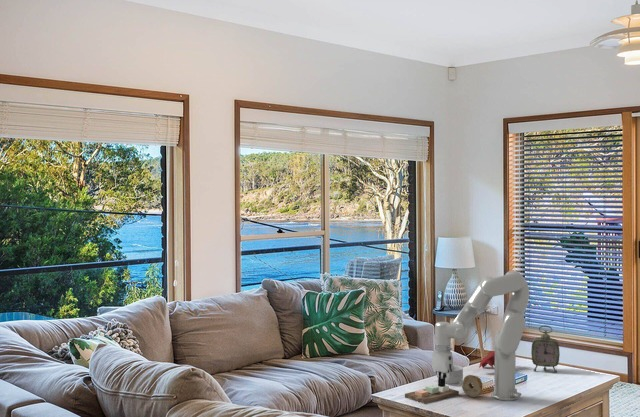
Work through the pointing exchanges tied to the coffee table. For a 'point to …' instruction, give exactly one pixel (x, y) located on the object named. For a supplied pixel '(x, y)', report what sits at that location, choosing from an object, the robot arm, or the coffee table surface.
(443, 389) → the tile cream
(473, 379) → the bagel
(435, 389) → the tile sage
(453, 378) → the teacup
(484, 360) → the decorative bird sculpture
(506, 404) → the coffee table surface
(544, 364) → the tabletop clock
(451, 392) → the brown tile tray
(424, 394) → the tile terracotta
